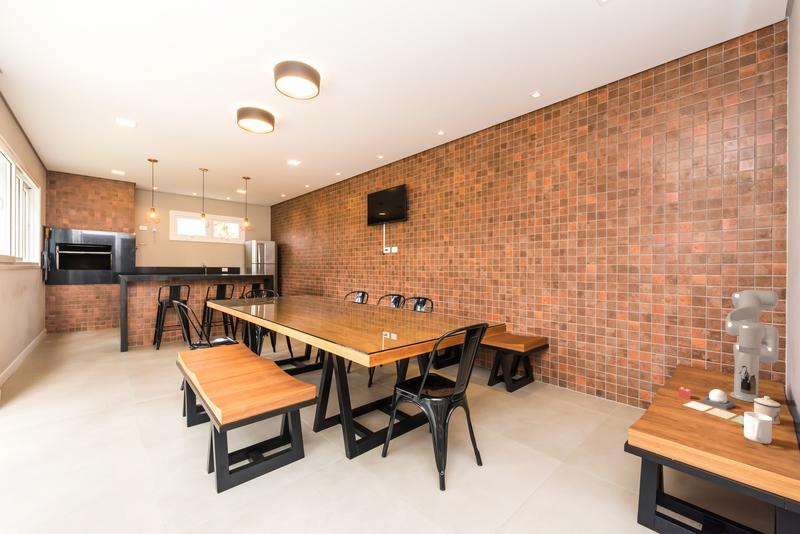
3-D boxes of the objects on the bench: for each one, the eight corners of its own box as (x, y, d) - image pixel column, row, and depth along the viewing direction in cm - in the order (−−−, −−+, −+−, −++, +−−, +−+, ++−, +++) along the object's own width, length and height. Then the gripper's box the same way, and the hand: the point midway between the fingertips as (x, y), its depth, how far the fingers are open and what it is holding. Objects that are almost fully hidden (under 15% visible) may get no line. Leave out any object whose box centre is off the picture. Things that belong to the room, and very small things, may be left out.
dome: (712, 399, 187) (713, 386, 186) (729, 404, 180) (729, 390, 180) (706, 401, 183) (706, 388, 183) (723, 406, 177) (723, 393, 177)
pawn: (743, 390, 165) (743, 372, 165) (757, 393, 161) (758, 375, 161) (738, 391, 163) (739, 373, 163) (753, 395, 158) (753, 377, 158)
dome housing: (710, 400, 189) (710, 395, 189) (734, 407, 180) (734, 402, 180) (701, 404, 184) (701, 398, 184) (725, 411, 175) (726, 405, 175)
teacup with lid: (780, 427, 159) (781, 402, 159) (752, 419, 166) (753, 396, 166) (781, 419, 167) (781, 395, 167) (754, 413, 174) (755, 390, 174)
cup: (771, 439, 148) (772, 416, 148) (771, 449, 140) (772, 425, 140) (744, 432, 154) (745, 409, 154) (742, 441, 146) (743, 417, 146)
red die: (679, 395, 195) (679, 386, 195) (690, 398, 192) (691, 388, 192) (678, 398, 192) (678, 388, 191) (690, 401, 188) (690, 390, 188)
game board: (691, 401, 187) (691, 399, 187) (768, 425, 160) (769, 423, 160) (678, 406, 181) (678, 404, 181) (757, 431, 154) (757, 429, 154)
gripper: (746, 347, 169) (745, 383, 169) (730, 350, 161) (729, 389, 161) (767, 350, 162) (766, 389, 162) (752, 354, 154) (751, 394, 155)
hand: (748, 388), depth 162 cm, fingers closed on pawn, 4 cm apart
